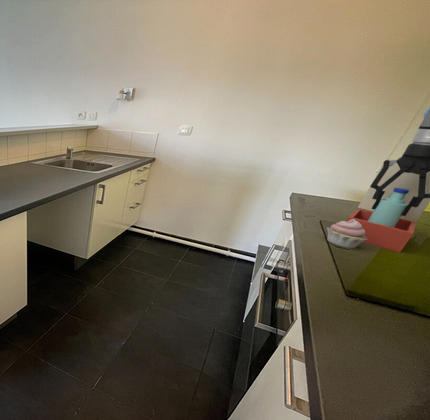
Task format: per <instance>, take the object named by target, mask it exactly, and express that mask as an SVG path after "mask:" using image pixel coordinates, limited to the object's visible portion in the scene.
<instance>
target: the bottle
mask: <svg viewBox="0 0 430 420" xmlns="http://www.w3.org/2000/svg"><path fill="white" fill-rule="evenodd" d="M408 192H409V190H407V189H402V188H395V189H394V190H393V194H392V195H391V197H390V198H389V197H387V198H386V199H381V200H380V201H379V203H378V205H377V206H376V208H375V210H374V211H372V212H373V213H372V215H371V216H370V218H369V220H368V221H369V222H373V223H377V224H381V225H385V226H389V227H393V228H394V227H395V225H396V223H397V222H398V220H399V219H400V218H401V216H402V214H403V212H404V211H405V209H406V208H407V206H408V204H406V203H404V202H405V201H404V200H403V198H404V196H405V195H406V194H407V193H408Z"/></svg>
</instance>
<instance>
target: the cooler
mask: <svg viewBox="0 0 430 420" xmlns="http://www.w3.org/2000/svg"><path fill="white" fill-rule="evenodd" d="M372 213H373V211H371V210H366V209H362V208H356V209H355V210H354V211H353V212H352V213H351V214H350V215H348V217H347V219H346V221H350V220H351V219H354V220H356V221H357V222H359V223H360V224H361V225H362V228H363V229H364V230H365V235H364V236H365V238H367V240H365V241H363V242H362V243H367V244H370V245H374V246H376V247H379V248H384V249H387V250H391V251H394V252H397V253H401V252H402V251H403V249H404V248H405V246H406V245H407V244H408V242H409V240H410V239H411V238H412V236H413V235H414V232H415V228H416V225H417V221H415V220H410V219H406V218H401V217H400V219H399V220H398V222H397V223H396V225H395V227H394V228H393V227H389V226H385V225H381V224H377V223H373V222H369V221H368V220H369V218H370V216H371V215H372Z"/></svg>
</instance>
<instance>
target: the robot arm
mask: <svg viewBox="0 0 430 420" xmlns="http://www.w3.org/2000/svg"><path fill="white" fill-rule="evenodd" d="M410 141H411V143H410V144H408V145H407V146H406V148H405V150H404V152H403V154H402V155H401V157H398V158H397V159H385V160H383V163H382V165H383V168H382V169H381V171H380V172H379V171H378V172H379V174H378V173H377V174H378V175H377V174H376V175H377V177H376V176H375V177H376V178H375V177H374V179H375V180H374V179H373V180H374V181H373V180H372V182H373V183H372V182H371V184H370V185H369V187H371V188H374V189H376V192H375V194H374V195H373V197H372V199H375V200H376V202H375V203H374V205H373V207H372V208H371V209H375V208H376V206H377V205H378V203H379V201H380V200H381V198H382V196H383V195H384V193H385V191H382V190H383V189H384V188H386V187H387V186H388V185H389V184H390V183H392V182H393V181H394V180H395V179H397V178H398V177H399V176H400V175H401V174H403V173H404V172H405V173H414V174H419V188H418V197H415V196H413V198H412V200H411V201H410V203H409V204H408V206H407V208H406V209H405V211H404V212H403V214H402V216H406V214H407V213H408V211H409V210H410V208H411V207H418V206H419V204H420V203H421V201H422V200H423V199H424V198H430V194H425V186H426V174H427V172H429V171H430V106H429V107H428V108H427V109H426V110H425V112H424V113H423V120H422V121H421V123H420V125H419V126H418V128H417V129H416V131H415V133H414V135H413V136H412V138H411V139H410ZM394 163H397V164H398V166H399V168H400V170H399V171H398V172H396V173H395V174H394V175H393V176H392V177H391V178H389V179H388V180H387V181H386V182H385V183H383V184H382V185H381V186H378V185H377V184H378V183H379V182H380V180H381V179H382V177H383V176H384V174H385V173H386V171H387V170H388V168H389V166H393V165H394Z"/></svg>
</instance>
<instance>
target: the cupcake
mask: <svg viewBox="0 0 430 420" xmlns="http://www.w3.org/2000/svg"><path fill="white" fill-rule="evenodd" d="M326 230H327V238H326V240H327V241H328V242H329V243H331V244H332V246H333V247H334V248H335V247H336V248H338V249H341V250H347V251H351V249H355V248H356V247H358V246H359V245H360V244H362V243H364V242H363V241H365V240H367V238H365V236H364V235H365V230H364V229H363V228H362V225H361V224H360V223H359V222H357V221H356V220H354V219H351V220H350V221H347V220H341V221H338V222H336V223H333V224H331V226H330V227H326Z"/></svg>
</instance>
